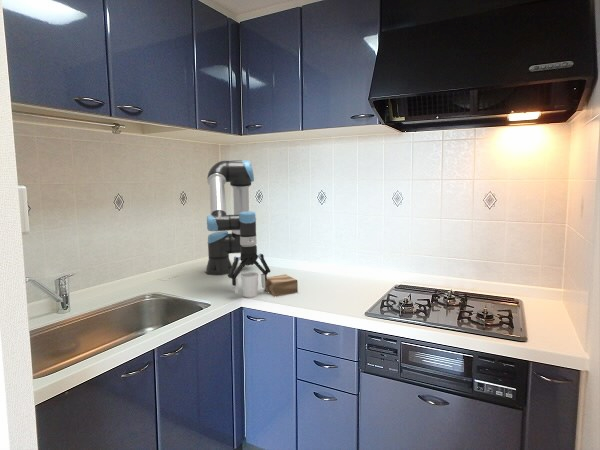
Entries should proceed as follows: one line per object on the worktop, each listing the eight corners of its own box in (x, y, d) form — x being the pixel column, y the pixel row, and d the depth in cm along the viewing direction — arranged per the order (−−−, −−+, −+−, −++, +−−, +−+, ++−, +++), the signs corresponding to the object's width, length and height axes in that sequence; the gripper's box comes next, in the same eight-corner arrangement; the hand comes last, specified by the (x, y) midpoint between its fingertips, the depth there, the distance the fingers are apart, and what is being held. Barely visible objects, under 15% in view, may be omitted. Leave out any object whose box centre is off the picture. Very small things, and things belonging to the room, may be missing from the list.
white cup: (250, 291, 187) (250, 271, 186) (262, 294, 182) (261, 274, 180) (238, 295, 181) (237, 275, 180) (249, 299, 176) (248, 277, 175)
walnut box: (264, 290, 189) (264, 277, 188) (286, 286, 195) (286, 274, 194) (274, 296, 179) (274, 283, 178) (297, 292, 184) (297, 279, 184)
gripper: (224, 249, 169) (226, 296, 172) (276, 243, 181) (277, 287, 183) (219, 246, 175) (221, 292, 178) (269, 241, 187) (271, 284, 190)
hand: (250, 289), depth 181 cm, fingers open, 13 cm apart
